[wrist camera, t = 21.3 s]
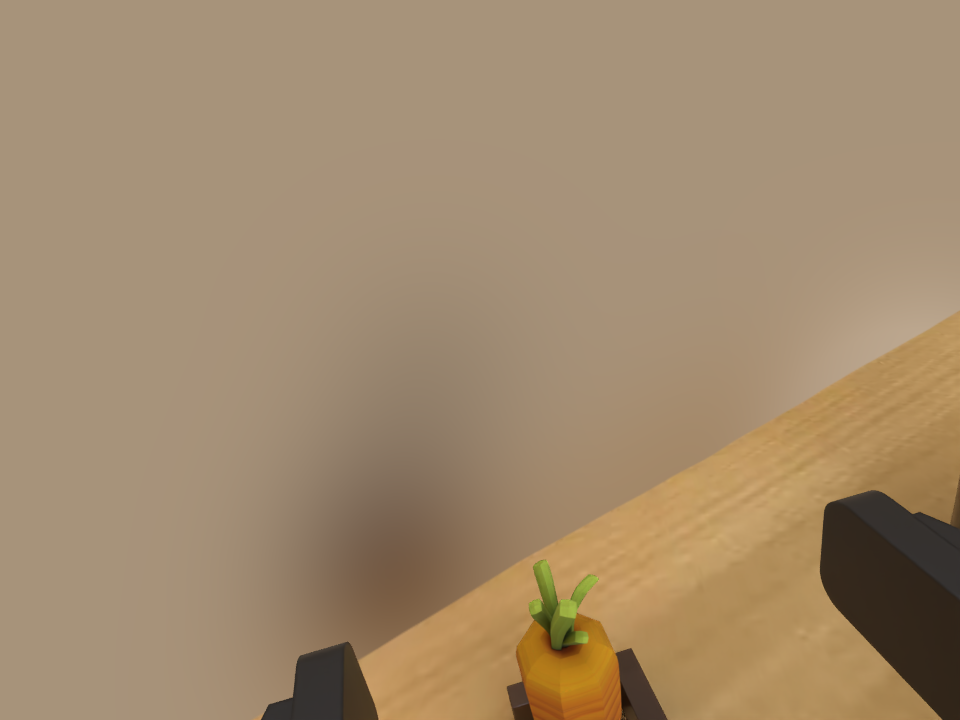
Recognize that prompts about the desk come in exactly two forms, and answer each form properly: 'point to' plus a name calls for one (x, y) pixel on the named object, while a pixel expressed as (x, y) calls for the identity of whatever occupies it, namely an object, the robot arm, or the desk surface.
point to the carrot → (567, 658)
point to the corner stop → (635, 693)
